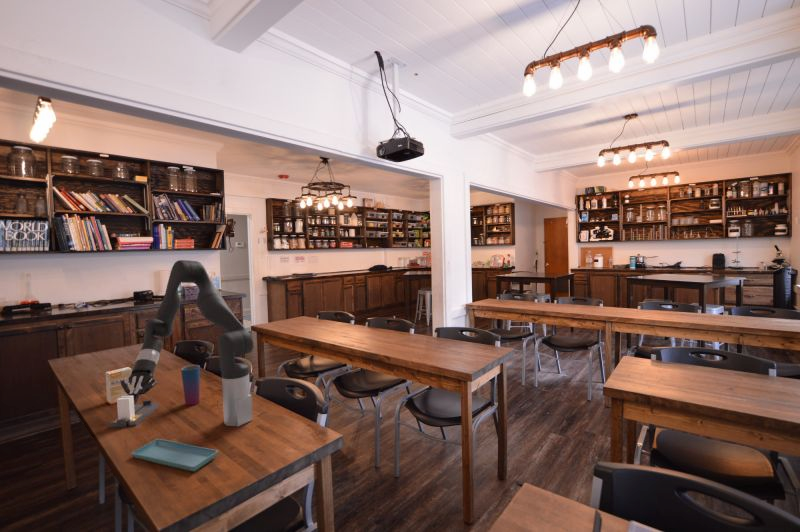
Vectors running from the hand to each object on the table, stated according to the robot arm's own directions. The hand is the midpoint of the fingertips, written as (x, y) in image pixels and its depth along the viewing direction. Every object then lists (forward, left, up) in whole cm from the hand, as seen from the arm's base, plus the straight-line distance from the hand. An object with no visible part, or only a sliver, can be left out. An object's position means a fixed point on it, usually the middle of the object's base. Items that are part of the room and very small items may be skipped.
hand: (130, 404), depth 142 cm
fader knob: (-2, +2, -4) cm, 5 cm away
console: (+1, -2, -6) cm, 6 cm away
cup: (-6, -20, -6) cm, 21 cm away
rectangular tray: (-42, +5, -6) cm, 42 cm away
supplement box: (+25, -6, -6) cm, 27 cm away
